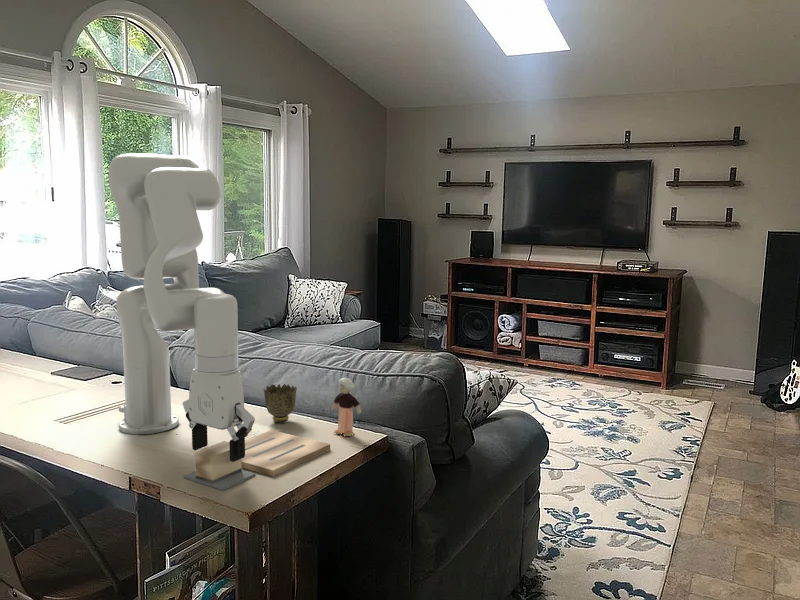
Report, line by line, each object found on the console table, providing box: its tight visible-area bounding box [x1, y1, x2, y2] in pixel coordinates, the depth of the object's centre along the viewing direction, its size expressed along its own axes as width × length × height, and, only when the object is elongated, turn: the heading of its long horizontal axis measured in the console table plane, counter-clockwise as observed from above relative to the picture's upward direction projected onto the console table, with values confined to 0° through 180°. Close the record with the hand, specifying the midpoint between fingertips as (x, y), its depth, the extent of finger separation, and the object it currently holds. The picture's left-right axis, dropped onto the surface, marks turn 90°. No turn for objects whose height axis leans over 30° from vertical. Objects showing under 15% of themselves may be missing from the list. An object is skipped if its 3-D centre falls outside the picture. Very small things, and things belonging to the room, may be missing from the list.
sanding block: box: [194, 440, 243, 484], centre depth 127 cm, size 4×7×5 cm, turn 148°
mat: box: [183, 469, 256, 491], centre depth 128 cm, size 10×8×1 cm
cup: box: [263, 383, 297, 424], centre depth 160 cm, size 8×7×8 cm
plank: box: [241, 429, 331, 477], centre depth 139 cm, size 16×17×1 cm
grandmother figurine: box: [332, 377, 362, 437], centre depth 151 cm, size 8×4×13 cm, turn 66°
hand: (218, 453), depth 128 cm, fingers open, 9 cm apart
